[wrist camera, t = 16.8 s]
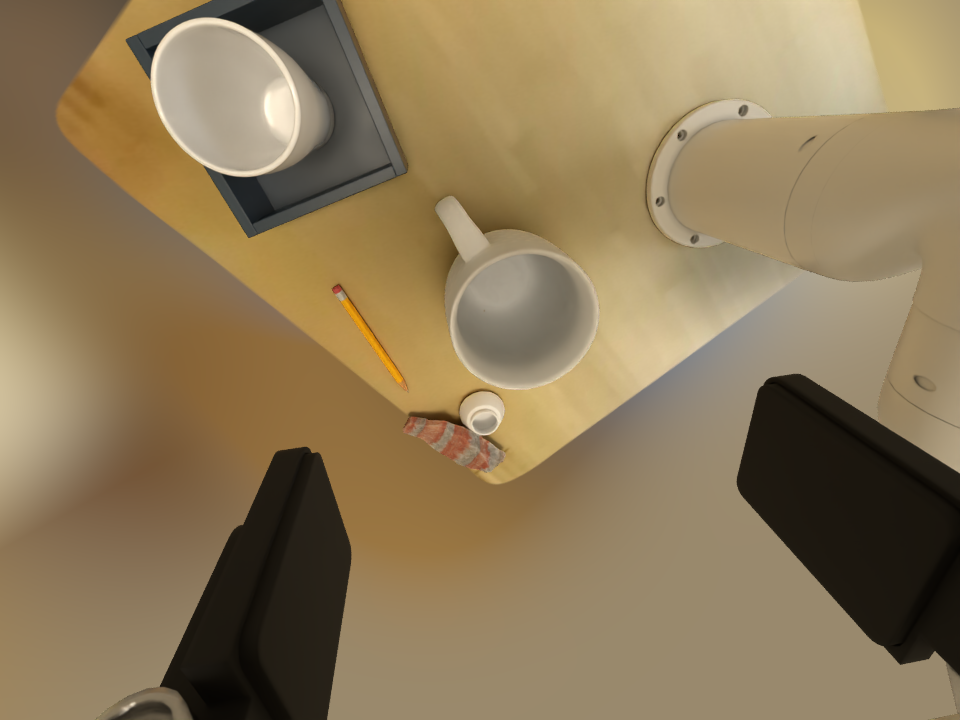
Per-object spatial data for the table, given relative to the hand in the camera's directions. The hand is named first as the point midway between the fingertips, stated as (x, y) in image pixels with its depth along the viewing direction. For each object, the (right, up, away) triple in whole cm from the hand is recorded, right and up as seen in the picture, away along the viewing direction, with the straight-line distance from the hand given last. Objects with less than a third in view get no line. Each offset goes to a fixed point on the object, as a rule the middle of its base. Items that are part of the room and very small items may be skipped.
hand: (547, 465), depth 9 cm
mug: (0, +12, +33) cm, 35 cm away
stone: (-6, -9, +42) cm, 43 cm away
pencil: (-12, +4, +35) cm, 37 cm away
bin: (-16, +22, +26) cm, 37 cm away
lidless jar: (-1, -3, +40) cm, 40 cm away
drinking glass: (-15, +21, +25) cm, 36 cm away
